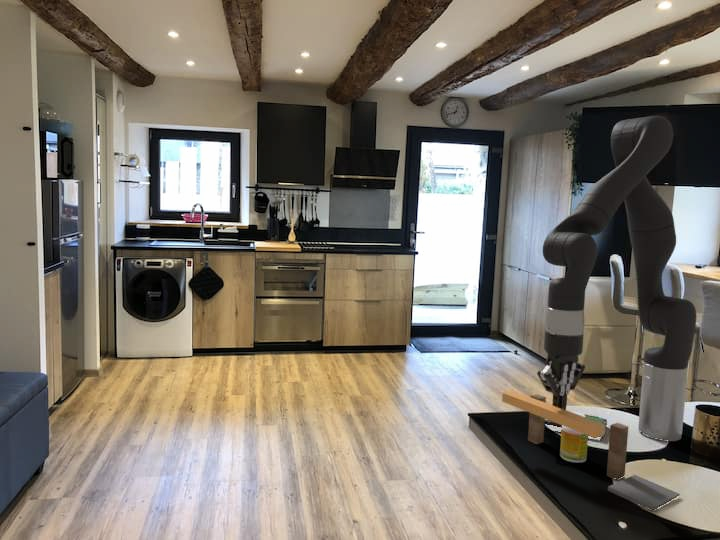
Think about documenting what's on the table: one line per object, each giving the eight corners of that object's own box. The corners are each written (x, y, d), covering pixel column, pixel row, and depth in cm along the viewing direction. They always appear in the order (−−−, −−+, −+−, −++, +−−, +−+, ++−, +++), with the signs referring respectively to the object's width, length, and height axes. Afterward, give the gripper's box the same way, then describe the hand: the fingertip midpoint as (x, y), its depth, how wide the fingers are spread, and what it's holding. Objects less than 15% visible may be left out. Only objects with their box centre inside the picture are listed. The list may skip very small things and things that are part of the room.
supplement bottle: (583, 465, 122) (586, 421, 120) (557, 459, 124) (559, 416, 123) (588, 456, 126) (591, 413, 125) (563, 450, 129) (565, 408, 128)
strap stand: (534, 438, 135) (537, 394, 134) (624, 477, 117) (628, 426, 115) (528, 440, 134) (530, 395, 132) (617, 480, 115) (621, 429, 114)
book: (634, 478, 116) (634, 474, 116) (679, 497, 109) (679, 493, 109) (607, 490, 111) (608, 486, 111) (653, 511, 104) (653, 507, 104)
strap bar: (511, 399, 129) (511, 390, 129) (604, 434, 110) (605, 424, 110) (502, 401, 128) (502, 392, 127) (595, 438, 109) (595, 428, 108)
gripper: (568, 322, 125) (563, 400, 127) (528, 329, 118) (523, 411, 120) (600, 329, 119) (594, 410, 121) (559, 337, 112) (553, 423, 114)
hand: (559, 411), depth 121 cm, fingers closed
